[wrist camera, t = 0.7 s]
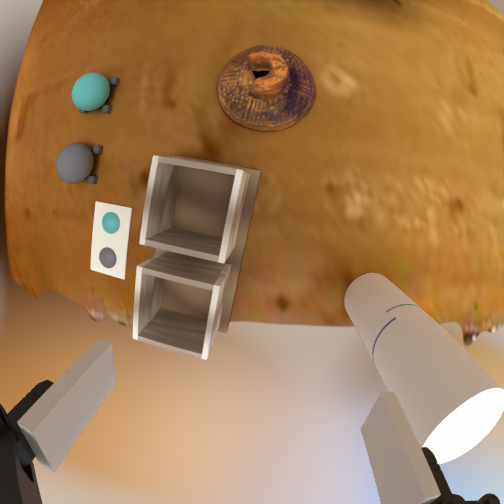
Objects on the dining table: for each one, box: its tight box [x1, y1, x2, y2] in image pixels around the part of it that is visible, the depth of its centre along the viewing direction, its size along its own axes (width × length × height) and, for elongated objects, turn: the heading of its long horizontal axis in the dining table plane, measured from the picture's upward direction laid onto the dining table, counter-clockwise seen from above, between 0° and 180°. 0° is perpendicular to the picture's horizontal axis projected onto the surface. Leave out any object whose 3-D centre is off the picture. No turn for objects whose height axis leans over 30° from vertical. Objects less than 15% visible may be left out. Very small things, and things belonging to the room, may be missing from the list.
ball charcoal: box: [56, 143, 94, 183], centre depth 32 cm, size 6×6×6 cm
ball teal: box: [72, 73, 110, 111], centre depth 30 cm, size 6×6×6 cm
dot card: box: [91, 201, 132, 280], centre depth 37 cm, size 10×6×1 cm, turn 168°
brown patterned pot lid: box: [217, 45, 316, 131], centre depth 28 cm, size 12×12×7 cm
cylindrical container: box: [344, 273, 504, 464], centre depth 24 cm, size 7×7×25 cm
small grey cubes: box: [79, 77, 120, 184], centre depth 33 cm, size 15×5×1 cm, turn 168°
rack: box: [133, 155, 261, 360], centre depth 32 cm, size 21×11×9 cm, turn 168°
